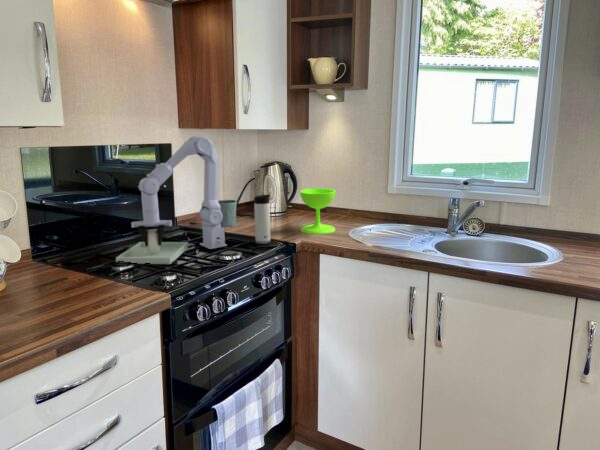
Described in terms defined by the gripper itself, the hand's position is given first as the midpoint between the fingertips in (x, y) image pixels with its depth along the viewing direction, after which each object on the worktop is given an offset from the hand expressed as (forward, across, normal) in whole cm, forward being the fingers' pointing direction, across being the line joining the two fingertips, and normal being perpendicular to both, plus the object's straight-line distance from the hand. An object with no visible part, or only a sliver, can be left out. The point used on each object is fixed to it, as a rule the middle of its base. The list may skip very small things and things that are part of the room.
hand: (153, 245), depth 182 cm
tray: (+4, 0, 0) cm, 4 cm away
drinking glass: (+4, -26, -46) cm, 54 cm away
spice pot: (+2, 0, 0) cm, 2 cm away
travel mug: (+4, -42, -13) cm, 44 cm away
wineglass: (+4, -68, -30) cm, 75 cm away
